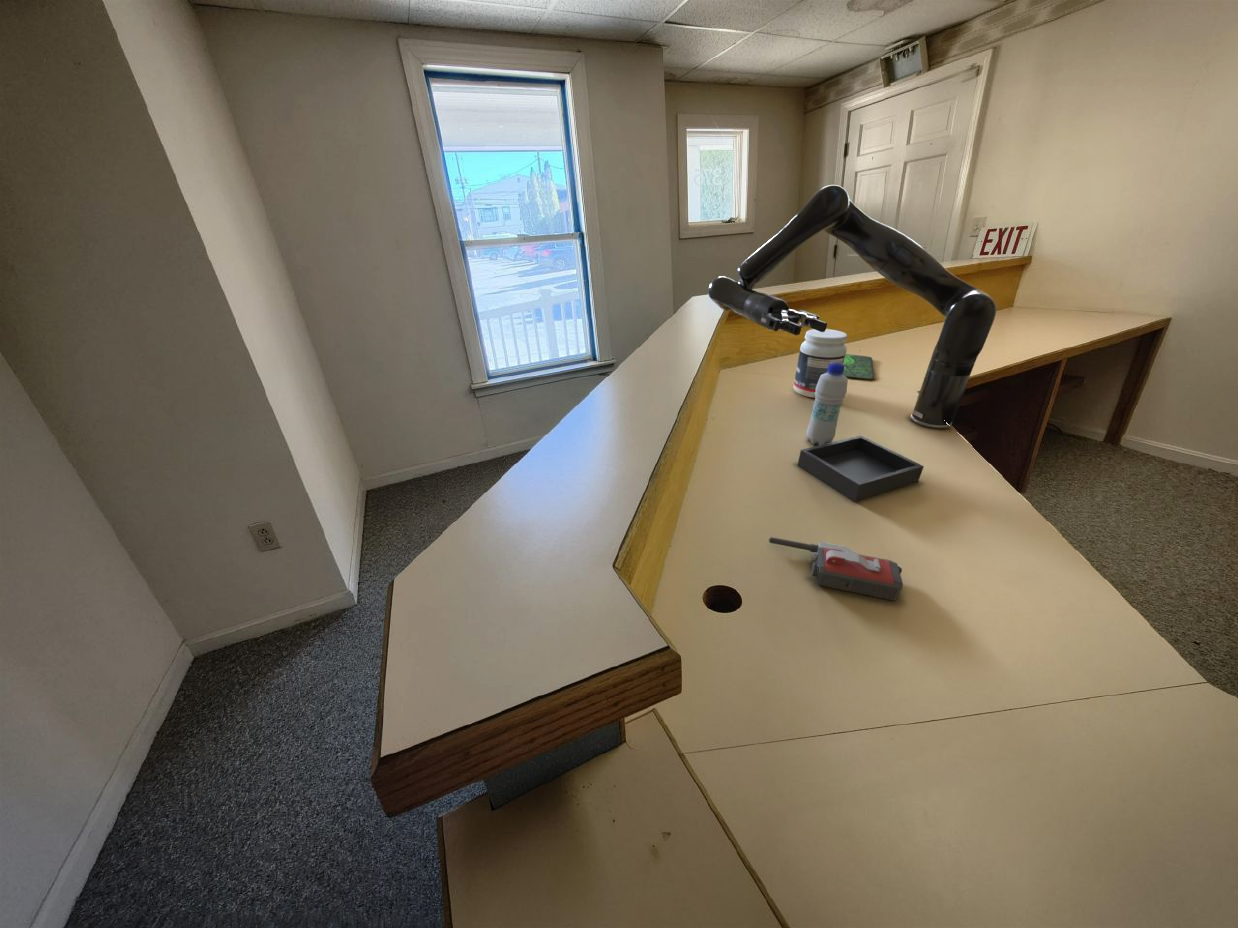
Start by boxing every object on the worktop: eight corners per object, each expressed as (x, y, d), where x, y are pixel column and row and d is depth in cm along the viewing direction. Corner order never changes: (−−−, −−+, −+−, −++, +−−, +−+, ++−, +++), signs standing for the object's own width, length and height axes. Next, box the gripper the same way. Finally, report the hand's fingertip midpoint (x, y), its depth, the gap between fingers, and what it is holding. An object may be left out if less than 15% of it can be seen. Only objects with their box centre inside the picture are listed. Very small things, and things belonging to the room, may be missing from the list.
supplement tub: (795, 383, 149) (805, 326, 140) (837, 388, 145) (851, 330, 135) (789, 396, 139) (800, 336, 130) (834, 402, 135) (849, 340, 125)
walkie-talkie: (896, 566, 74) (768, 541, 79) (904, 545, 71) (772, 521, 77) (906, 605, 66) (765, 575, 72) (916, 583, 64) (769, 554, 70)
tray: (856, 450, 108) (860, 435, 106) (917, 482, 96) (924, 466, 94) (797, 465, 102) (800, 449, 100) (854, 502, 90) (859, 484, 88)
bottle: (835, 449, 109) (856, 368, 99) (806, 447, 110) (824, 367, 100) (830, 437, 115) (849, 359, 105) (802, 435, 116) (818, 358, 106)
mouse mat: (874, 380, 150) (875, 378, 150) (804, 373, 158) (805, 370, 157) (871, 358, 172) (871, 355, 171) (809, 352, 180) (810, 350, 179)
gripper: (747, 296, 113) (795, 315, 101) (788, 293, 119) (838, 311, 107) (740, 326, 117) (786, 348, 105) (781, 322, 123) (828, 342, 111)
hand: (812, 329), depth 106 cm, fingers open, 8 cm apart
